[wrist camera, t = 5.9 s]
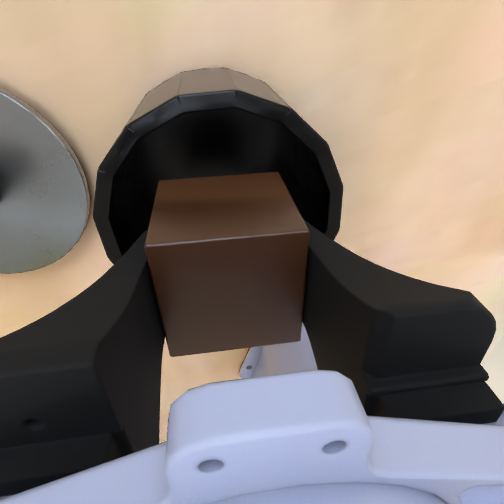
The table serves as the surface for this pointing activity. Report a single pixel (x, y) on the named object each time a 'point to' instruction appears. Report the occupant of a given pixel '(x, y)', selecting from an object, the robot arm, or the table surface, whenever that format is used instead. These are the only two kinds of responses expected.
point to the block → (227, 262)
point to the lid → (37, 190)
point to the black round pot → (211, 152)
